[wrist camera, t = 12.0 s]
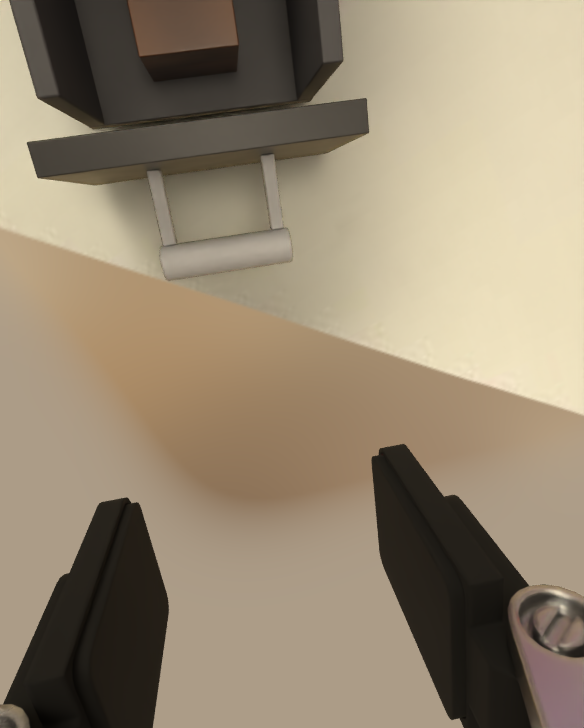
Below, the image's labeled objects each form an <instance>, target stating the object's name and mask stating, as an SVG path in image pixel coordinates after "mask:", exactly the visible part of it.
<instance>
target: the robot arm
mask: <svg viewBox="0 0 584 728" xmlns="http://www.w3.org/2000/svg"><path fill="white" fill-rule="evenodd" d="M372 472H373V483H374V494H375V506H376V516H377V528H378V540H379V551H380V556H381V560H382V564H383V567H384V569H385V572H386V574H387V576H388V579H389V581H390V583H391V585H392V588H393V590H394V592H395V595H396V597H397V599H398V602H399V604H400V606H401V609H402V611H403V613H404V615H405V618H406V620H407V622H408V625H409V627H410V629H411V632H412V634H413V636H414V639H415V641H416V643H417V646H418V648H419V650H420V653H421V655H422V657H423V660H424V662H425V664H426V667H427V669H428V671H429V673H430V676H431V678H432V680H433V683H434V685H435V687H436V690H437V692H438V694H439V696H440V699H441V701H442V704H443V706H444V708H445V710H446V713H447V714H448V716H449V718H450V719H451V720H454V719H458V718H460V720H461V722H462V725H463V727H464V728H584V597H583V596H582V595H580V594H578V593H576V592H574V591H571V590H568V589H565V588H562V587H559V586H552V585H545V584H542V585H533V586H529V585H528V584H527V582H526V581H525V580H524V579H523V577H522V576H521V575H520V574H519V572H518V571H517V570H516V569H515V568H514V566H513V565H512V563H511V562H510V561H509V560H508V558H507V557H506V556H505V555H504V554H503V552H502V551H501V550H500V548H499V547H498V546H497V544H496V543H495V542H494V541H493V539H492V538H491V537H490V536H489V534H488V533H487V532H486V531H485V529H484V528H483V527H482V526H481V525H480V523H479V522H478V520H477V519H476V518H475V517H474V515H473V514H472V513H471V512H470V510H469V509H468V508H467V507H466V505H465V504H464V503H463V501H462V500H461V499H460V498H459V497H458V496H456V495H450V496H445V497H444V496H443V495H442V494H441V492H440V491H439V490H438V488H437V487H436V486H435V484H434V483H433V481H432V480H431V479H430V477H429V476H428V475H427V473H426V472H425V471H424V469H423V468H422V467H421V465H420V464H419V462H418V461H417V460H416V458H415V457H414V456H413V454H412V453H411V452H410V450H409V449H408V448H407V446H406V445H404V444H401V445H396V446H390V447H385V448H380V450H379V455H378V456H373V457H372ZM168 613H169V605H168V597H167V593H166V590H165V587H164V583H163V580H162V577H161V573H160V570H159V567H158V563H157V560H156V557H155V553H154V550H153V547H152V543H151V540H150V537H149V533H148V530H147V527H146V523H145V520H144V517H143V514H142V510H141V507H140V505H139V503H137V502H136V503H131V502H130V500H129V499H128V498H121V499H116V500H111V501H106V502H101V503H99V505H98V507H97V509H96V511H95V514H94V516H93V518H92V521H91V523H90V525H89V528H88V530H87V533H86V535H85V537H84V540H83V542H82V544H81V547H80V549H79V551H78V554H77V556H76V559H75V561H74V564H73V566H72V568H71V571H70V573H68V574H64V575H63V576H62V577H61V578H60V579H59V581H58V582H57V584H56V586H55V588H54V591H53V593H52V596H51V597H50V600H49V602H48V604H47V606H46V609H45V611H44V613H43V615H42V618H41V620H40V622H39V625H38V627H37V629H36V631H35V634H34V636H33V638H32V640H31V643H30V645H29V647H28V650H27V652H26V654H25V656H24V658H23V661H22V663H21V665H20V667H19V670H18V672H17V674H16V677H15V679H14V681H13V683H12V685H11V688H10V690H9V692H8V694H7V697H6V699H5V701H4V704H3V705H0V728H153V721H154V714H155V707H156V700H157V692H158V685H159V678H160V671H161V663H162V657H163V650H164V642H165V635H166V628H167V621H168Z"/></svg>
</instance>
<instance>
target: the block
mask: <svg viewBox="0 0 584 728" xmlns="http://www.w3.org/2000/svg"><path fill="white" fill-rule="evenodd" d="M127 4H128V9H129V13H130V18H131V23H132V27H133V32H134V37H135V41H136V46H137V51H138V55H139V57H140V59H141V61H142V62H143V64H144V66H145V67H146V69H147V71H148V73H149V74H150V76H151V78H152V79H153V81H163V80H172V79H180V78H188V77H196V76H205V75H213V74H221V73H229V72H236V71H237V65H238V53H239V39H238V33H237V26H236V19H235V12H234V6H233V0H127Z"/></svg>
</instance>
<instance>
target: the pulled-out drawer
mask: <svg viewBox="0 0 584 728" xmlns="http://www.w3.org/2000/svg"><path fill="white" fill-rule="evenodd" d="M9 2H10V5H11V9H12V12H13V16H14V19H15V23H16V26H17V29H18V33H19V36H20V40H21V43H22V47H23V50H24V54H25V57H26V61H27V64H28V68H29V71H30V75H31V78H32V82H33V85H34V88H35V92H36V95H37V98H38V99H40V100H42V101H43V102H45V103H47V104H49V105H51V106H52V107H54V108H56V109H58V110H60V111H62V112H63V113H65V114H67V115H69V116H71V117H72V118H74V119H76V120H78V121H80V122H82V123H83V124H85V125H87V126H89V127H90V128H92V129H102V128H109V127H117V126H125V125H133V124H140V123H148V122H156V121H164V120H171V119H179V118H187V117H194V116H202V115H210V114H218V113H225V112H233V111H241V110H249V109H256V108H264V107H272V106H280V105H287V104H295V103H303V102H310V101H311V100H312V98H313V97H314V96H315V94H316V93H317V92H318V91H319V90H320V88H321V87H322V86H323V85H324V83H325V82H326V81H327V80H328V79H329V77H330V76H331V75H332V74H333V73H334V71H335V70H336V69H337V68H338V67H339V65H340V64H341V63H342V62H343V48H342V36H341V24H340V12H339V0H233V6H234V12H235V19H236V26H237V33H238V39H239V53H238V65H237V71H236V72H229V73H221V74H213V75H205V76H196V77H188V78H180V79H172V80H163V81H153V79H152V78H151V76H150V74H149V73H148V71H147V69H146V67H145V66H144V64H143V62H142V61H141V59H140V57H139V55H138V51H137V46H136V41H135V37H134V32H133V27H132V23H131V18H130V13H129V9H128V4H127V0H9ZM368 133H369V125H368V111H367V99H366V98H363V99H355V100H347V101H340V102H332V103H324V104H317V105H309V106H301V107H293V108H286V109H278V110H270V111H263V112H255V113H247V114H240V115H232V116H224V117H217V118H209V119H201V120H193V121H186V122H178V123H170V124H163V125H155V126H147V127H140V128H132V129H124V130H117V131H109V132H101V133H93V134H86V135H78V136H70V137H63V138H55V139H47V140H40V141H32V142H27V145H28V148H29V151H30V155H31V158H32V161H33V165H34V168H35V171H36V174H37V177H38V178H41V179H49V180H57V181H65V182H73V183H80V184H88V185H102V184H109V183H116V182H123V181H130V180H138V179H145V178H148V181H149V186H150V190H151V194H152V199H153V203H154V208H155V212H156V216H157V221H158V225H159V230H160V234H161V239H162V243H163V246H161V247H160V250H159V253H160V261H161V266H162V270H163V273H164V276H165V278H166V280H168V281H171V280H177V279H184V278H190V277H197V276H203V275H209V274H216V273H222V272H228V271H235V270H241V269H247V268H254V267H260V266H267V265H273V264H279V263H286V262H291V261H292V259H293V250H292V242H291V237H290V233H289V230H288V228H286V227H285V228H284V224H283V217H282V209H281V202H280V195H279V187H278V180H277V173H276V165H275V160H282V159H289V158H296V157H303V156H310V155H318V154H325V153H328V152H330V151H332V150H335V149H337V148H339V147H341V146H343V145H345V144H347V143H349V142H351V141H353V140H355V139H357V138H359V137H361V136H363V135H366V134H368ZM260 162H261V168H262V175H263V182H264V188H265V195H266V202H267V209H268V216H269V223H270V228H271V229H272V230H265V231H259V232H252V233H245V234H239V235H232V236H225V237H219V238H212V239H206V240H199V241H192V242H186V243H179V244H176V243H177V239H176V235H175V230H174V225H173V221H172V216H171V211H170V207H169V202H168V197H167V193H166V188H165V184H164V179H163V176H166V175H174V174H181V173H188V172H195V171H202V170H210V169H217V168H224V167H231V166H238V165H246V164H253V163H260Z"/></svg>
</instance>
